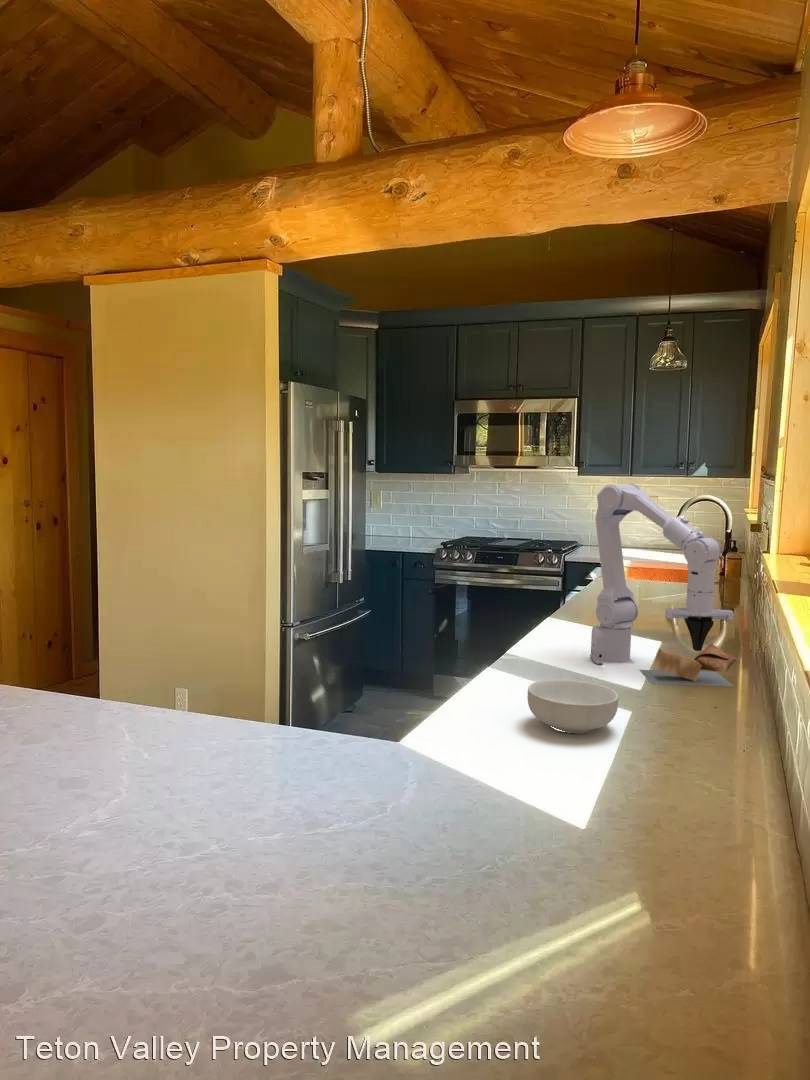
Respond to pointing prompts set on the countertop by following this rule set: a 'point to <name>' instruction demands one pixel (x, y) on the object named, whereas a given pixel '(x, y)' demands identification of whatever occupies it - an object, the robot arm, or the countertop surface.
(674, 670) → the oak block
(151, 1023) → the countertop surface
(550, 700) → the cereal bowl
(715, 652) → the sunglasses case
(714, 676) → the slate mat
